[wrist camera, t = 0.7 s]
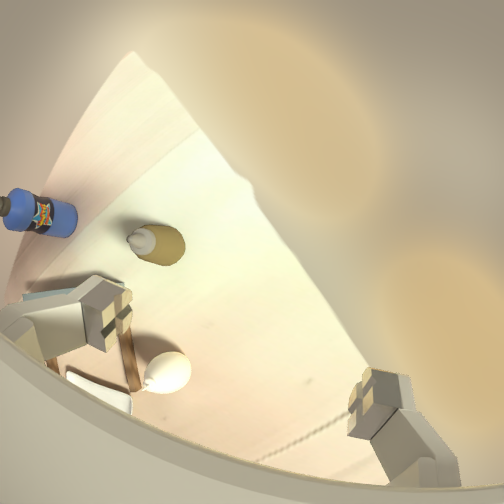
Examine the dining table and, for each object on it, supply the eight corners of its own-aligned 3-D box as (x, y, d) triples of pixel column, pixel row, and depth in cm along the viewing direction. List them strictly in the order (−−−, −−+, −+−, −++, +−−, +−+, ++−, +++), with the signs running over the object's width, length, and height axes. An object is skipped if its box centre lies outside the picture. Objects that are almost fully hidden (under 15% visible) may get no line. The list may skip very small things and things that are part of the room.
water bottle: (81, 205, 71) (9, 183, 47) (73, 241, 71) (-1, 230, 47) (58, 201, 73) (-11, 181, 48) (51, 235, 73) (-20, 223, 48)
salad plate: (72, 366, 70) (64, 369, 66) (138, 392, 66) (131, 396, 63) (76, 431, 69) (69, 435, 66) (138, 459, 65) (132, 464, 62)
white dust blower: (169, 381, 65) (129, 410, 47) (161, 348, 65) (117, 369, 48) (201, 378, 63) (168, 410, 46) (193, 344, 64) (156, 367, 46)
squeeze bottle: (168, 274, 66) (124, 274, 48) (150, 243, 67) (102, 234, 49) (198, 251, 65) (159, 244, 47) (177, 220, 66) (135, 204, 49)
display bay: (141, 388, 66) (124, 399, 58) (58, 381, 70) (39, 388, 62) (123, 282, 68) (103, 283, 60) (42, 293, 72) (22, 294, 64)
